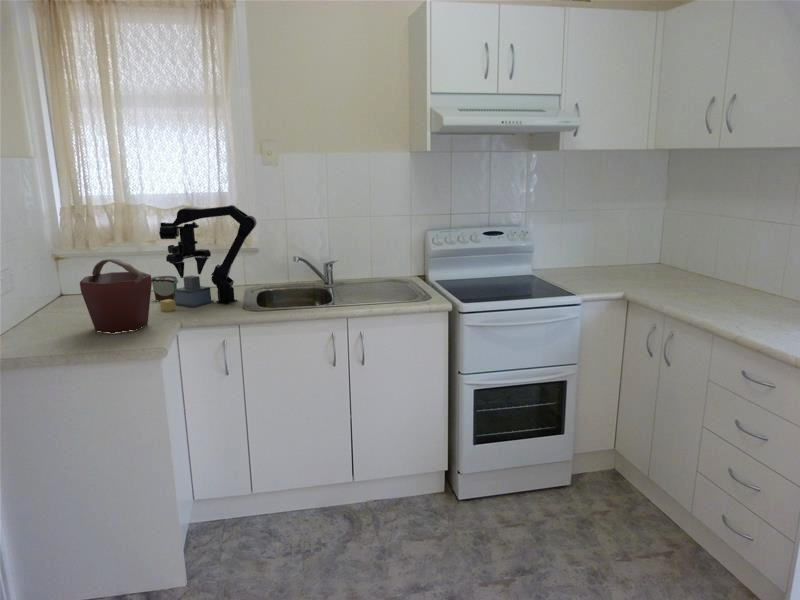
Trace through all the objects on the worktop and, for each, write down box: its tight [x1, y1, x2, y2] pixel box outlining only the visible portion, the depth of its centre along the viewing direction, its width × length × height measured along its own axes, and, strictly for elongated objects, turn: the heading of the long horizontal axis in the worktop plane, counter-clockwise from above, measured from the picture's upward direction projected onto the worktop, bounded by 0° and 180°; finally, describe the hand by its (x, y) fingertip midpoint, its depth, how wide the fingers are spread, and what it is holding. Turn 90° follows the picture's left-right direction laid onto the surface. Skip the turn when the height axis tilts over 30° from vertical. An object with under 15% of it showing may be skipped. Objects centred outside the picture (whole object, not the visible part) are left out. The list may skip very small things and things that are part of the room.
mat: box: [175, 299, 215, 309], centre depth 244 cm, size 12×12×1 cm
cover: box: [175, 274, 212, 306], centre depth 242 cm, size 10×10×11 cm
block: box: [159, 299, 177, 313], centre depth 232 cm, size 4×4×4 cm
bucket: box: [79, 258, 153, 333], centre depth 205 cm, size 24×22×25 cm
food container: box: [151, 275, 179, 302], centre depth 250 cm, size 12×6×10 cm, turn 74°
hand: (190, 276), depth 241 cm, fingers open, 9 cm apart
